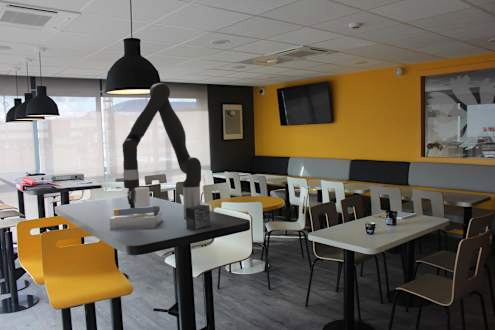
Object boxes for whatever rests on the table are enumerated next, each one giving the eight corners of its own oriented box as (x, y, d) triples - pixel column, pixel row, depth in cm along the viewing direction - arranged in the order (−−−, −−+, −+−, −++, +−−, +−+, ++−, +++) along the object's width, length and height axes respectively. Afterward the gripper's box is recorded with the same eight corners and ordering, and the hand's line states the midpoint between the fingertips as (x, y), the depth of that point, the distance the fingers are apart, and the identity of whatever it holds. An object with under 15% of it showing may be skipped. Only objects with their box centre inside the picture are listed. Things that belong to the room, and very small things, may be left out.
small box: (201, 225, 198) (201, 204, 198) (211, 226, 194) (210, 205, 194) (185, 229, 190) (185, 207, 190) (195, 230, 186) (194, 208, 186)
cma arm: (159, 211, 207) (158, 205, 207) (160, 212, 203) (159, 206, 203) (114, 215, 199) (113, 208, 199) (114, 216, 196) (114, 210, 196)
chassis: (162, 220, 214) (161, 209, 214) (155, 227, 196) (154, 216, 196) (120, 221, 213) (120, 211, 213) (110, 228, 195) (109, 217, 195)
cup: (146, 216, 225) (145, 188, 224) (133, 216, 226) (131, 188, 225) (152, 214, 233) (151, 187, 232) (139, 214, 234) (138, 187, 233)
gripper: (126, 177, 209) (127, 209, 210) (120, 180, 195) (122, 214, 197) (140, 176, 209) (142, 209, 211) (136, 179, 196) (138, 214, 198)
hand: (132, 211), depth 204 cm, fingers closed
